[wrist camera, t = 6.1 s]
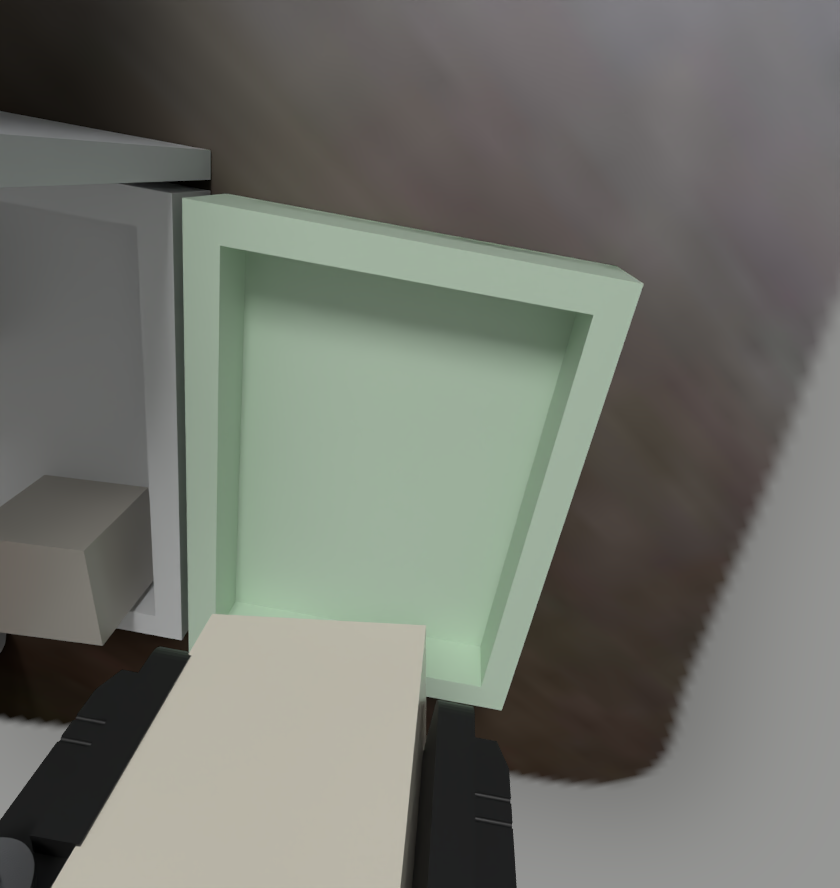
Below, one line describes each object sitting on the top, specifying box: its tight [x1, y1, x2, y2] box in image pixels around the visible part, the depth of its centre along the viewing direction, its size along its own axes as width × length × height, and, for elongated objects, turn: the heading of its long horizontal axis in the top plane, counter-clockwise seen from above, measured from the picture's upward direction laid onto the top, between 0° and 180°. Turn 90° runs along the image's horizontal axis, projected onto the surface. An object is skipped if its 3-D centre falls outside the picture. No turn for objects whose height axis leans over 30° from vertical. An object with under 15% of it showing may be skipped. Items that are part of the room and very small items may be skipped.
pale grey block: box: [0, 475, 154, 646], centre depth 21 cm, size 4×4×4 cm
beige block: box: [51, 614, 426, 888], centre depth 10 cm, size 4×4×6 cm
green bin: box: [182, 194, 643, 710], centre depth 20 cm, size 16×12×3 cm
